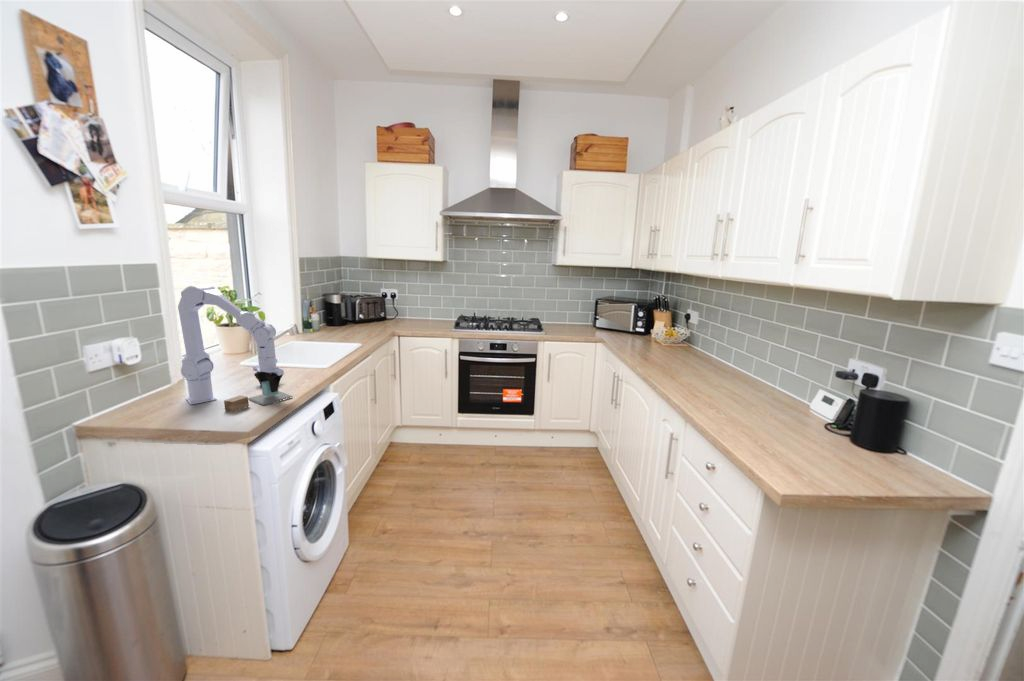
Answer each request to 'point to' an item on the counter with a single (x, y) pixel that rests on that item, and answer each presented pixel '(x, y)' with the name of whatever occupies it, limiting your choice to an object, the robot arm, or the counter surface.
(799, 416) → the counter surface
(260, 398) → the slate coaster
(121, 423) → the counter surface
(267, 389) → the teal block
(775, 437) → the counter surface
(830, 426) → the counter surface
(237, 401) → the walnut block
